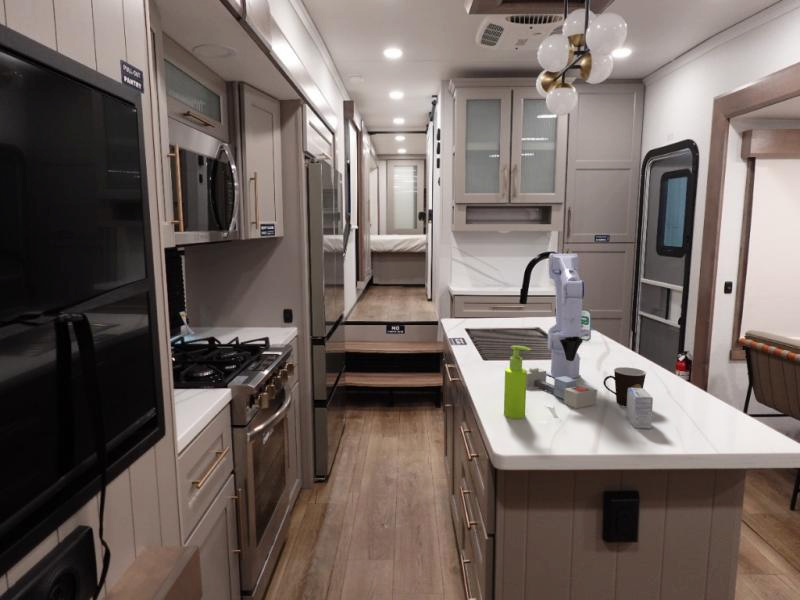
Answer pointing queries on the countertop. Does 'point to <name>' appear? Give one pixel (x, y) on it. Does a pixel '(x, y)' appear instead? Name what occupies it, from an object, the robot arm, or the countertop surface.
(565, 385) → the carriage
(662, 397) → the countertop surface
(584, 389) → the red rounded piece
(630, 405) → the medicine box
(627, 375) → the coffee mug
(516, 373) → the soap dispenser
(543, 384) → the rail
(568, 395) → the cabinet
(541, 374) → the cabinet
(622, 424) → the countertop surface
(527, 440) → the countertop surface
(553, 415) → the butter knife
